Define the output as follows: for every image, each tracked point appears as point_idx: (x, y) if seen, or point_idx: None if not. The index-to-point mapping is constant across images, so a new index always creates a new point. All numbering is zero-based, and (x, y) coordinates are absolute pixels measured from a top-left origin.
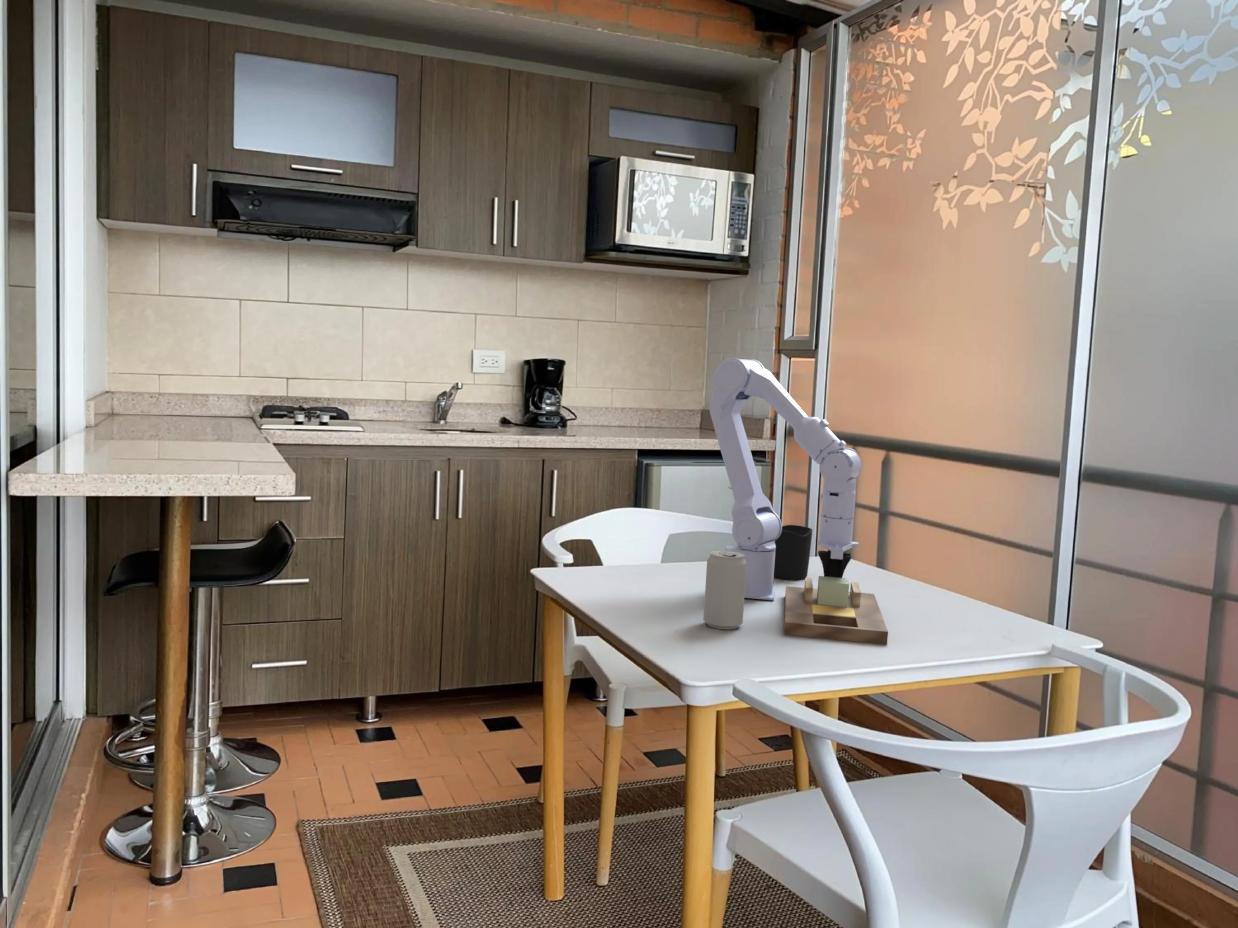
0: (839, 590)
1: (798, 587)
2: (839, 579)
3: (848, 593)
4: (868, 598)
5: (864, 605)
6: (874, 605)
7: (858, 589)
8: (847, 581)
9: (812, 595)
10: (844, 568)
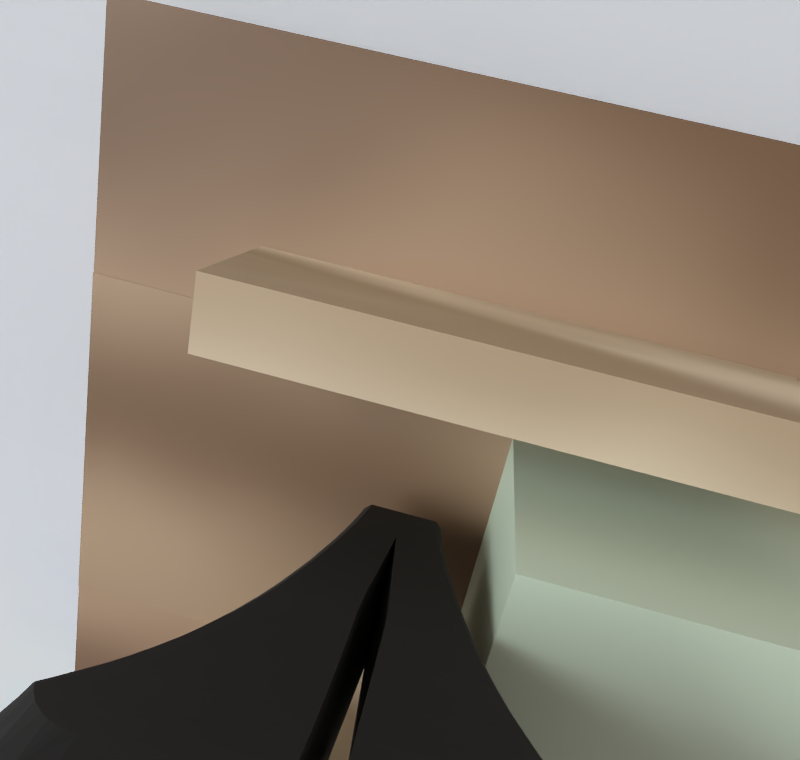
0: None
1: (85, 664)
2: (613, 701)
3: (184, 306)
4: (367, 143)
5: (725, 304)
6: (718, 178)
7: (666, 410)
8: (743, 645)
9: None
10: (521, 740)
